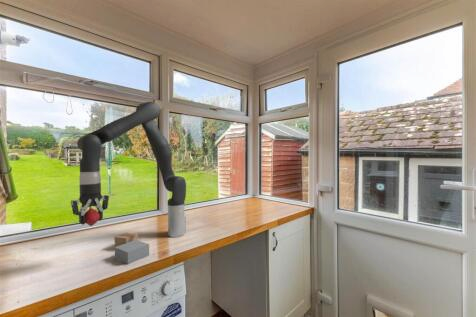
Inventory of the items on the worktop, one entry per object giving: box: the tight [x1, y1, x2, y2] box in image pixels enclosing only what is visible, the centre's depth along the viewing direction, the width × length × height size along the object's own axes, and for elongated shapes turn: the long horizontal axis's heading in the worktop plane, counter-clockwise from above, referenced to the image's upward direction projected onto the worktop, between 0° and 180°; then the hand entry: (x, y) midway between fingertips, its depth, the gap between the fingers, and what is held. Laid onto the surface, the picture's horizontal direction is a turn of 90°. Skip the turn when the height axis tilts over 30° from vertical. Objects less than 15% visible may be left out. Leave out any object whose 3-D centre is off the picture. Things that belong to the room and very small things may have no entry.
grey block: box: [114, 239, 150, 265], centre depth 99 cm, size 10×10×5 cm
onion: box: [84, 206, 100, 227], centre depth 94 cm, size 6×6×8 cm
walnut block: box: [114, 231, 138, 248], centre depth 110 cm, size 7×7×6 cm
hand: (91, 222), depth 94 cm, fingers closed on onion, 6 cm apart
